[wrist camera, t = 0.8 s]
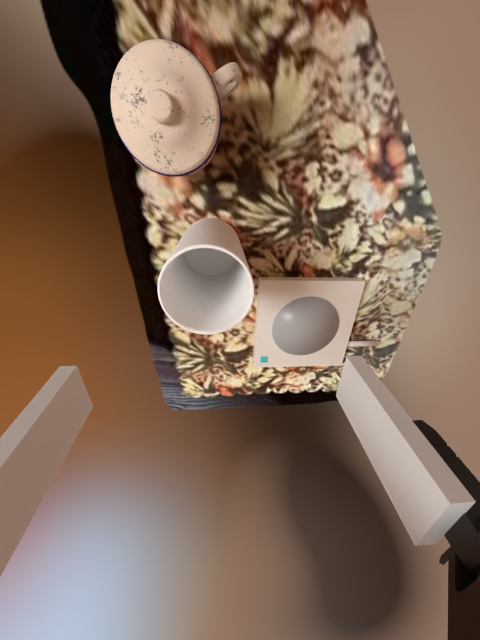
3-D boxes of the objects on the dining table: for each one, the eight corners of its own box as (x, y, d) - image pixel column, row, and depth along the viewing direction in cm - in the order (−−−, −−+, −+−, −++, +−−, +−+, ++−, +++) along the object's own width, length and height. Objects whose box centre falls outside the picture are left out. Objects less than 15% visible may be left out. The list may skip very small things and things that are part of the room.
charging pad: (258, 276, 38) (260, 280, 37) (400, 278, 40) (407, 281, 38) (252, 361, 46) (253, 367, 44) (371, 359, 48) (376, 365, 46)
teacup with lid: (173, 192, 32) (152, 198, 22) (121, 112, 28) (64, 73, 18) (256, 133, 29) (276, 109, 19) (212, 37, 25) (209, -59, 15)
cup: (246, 225, 34) (265, 257, 20) (233, 281, 38) (242, 341, 24) (185, 211, 33) (161, 234, 19) (178, 271, 37) (153, 327, 23)
